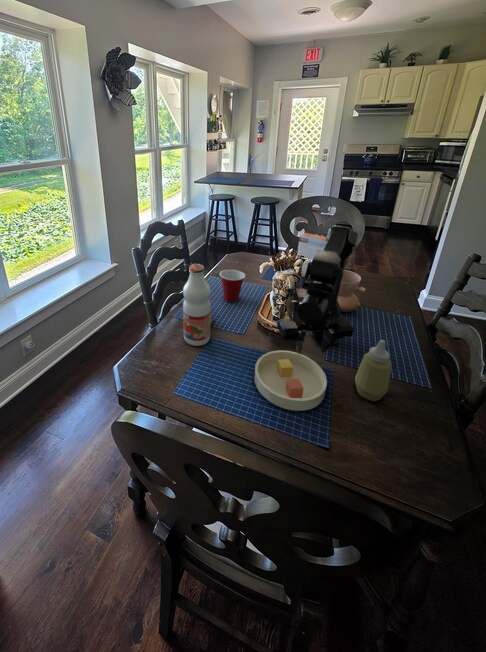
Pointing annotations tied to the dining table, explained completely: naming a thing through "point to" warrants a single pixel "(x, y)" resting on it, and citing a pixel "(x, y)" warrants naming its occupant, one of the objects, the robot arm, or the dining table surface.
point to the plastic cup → (231, 284)
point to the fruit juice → (196, 307)
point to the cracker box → (310, 247)
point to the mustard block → (284, 368)
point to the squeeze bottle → (374, 373)
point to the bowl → (302, 370)
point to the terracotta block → (294, 388)
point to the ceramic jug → (349, 291)
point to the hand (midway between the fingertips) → (310, 352)
